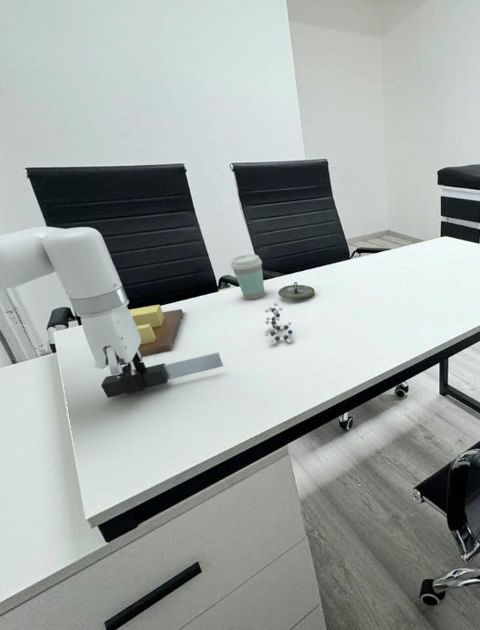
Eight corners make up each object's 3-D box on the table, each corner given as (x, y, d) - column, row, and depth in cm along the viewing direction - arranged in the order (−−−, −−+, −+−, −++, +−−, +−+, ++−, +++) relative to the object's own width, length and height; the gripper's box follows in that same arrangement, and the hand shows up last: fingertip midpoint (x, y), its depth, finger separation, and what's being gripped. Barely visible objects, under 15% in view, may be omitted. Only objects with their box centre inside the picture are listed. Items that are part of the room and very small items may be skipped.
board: (99, 364, 86) (97, 359, 85) (125, 324, 104) (123, 319, 103) (171, 350, 90) (169, 344, 90) (183, 313, 109) (181, 308, 108)
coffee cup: (265, 288, 123) (257, 252, 118) (272, 296, 117) (263, 258, 112) (237, 295, 119) (227, 257, 114) (242, 304, 113) (232, 265, 108)
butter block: (129, 331, 96) (123, 317, 95) (134, 323, 101) (128, 309, 99) (161, 325, 99) (155, 311, 97) (164, 318, 103) (159, 304, 101)
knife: (107, 398, 72) (100, 384, 71) (112, 389, 75) (105, 375, 74) (222, 369, 79) (218, 356, 77) (223, 362, 81) (218, 349, 80)
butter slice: (119, 348, 89) (112, 333, 87) (121, 344, 90) (115, 329, 89) (154, 341, 91) (148, 327, 89) (156, 338, 93) (150, 323, 91)
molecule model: (267, 356, 90) (275, 331, 86) (255, 322, 97) (261, 297, 93) (294, 354, 94) (302, 329, 90) (280, 321, 101) (287, 297, 97)
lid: (278, 299, 119) (271, 286, 116) (306, 284, 122) (300, 270, 119) (291, 311, 111) (283, 298, 108) (320, 295, 115) (314, 281, 112)
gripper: (90, 288, 73) (126, 369, 81) (54, 324, 59) (103, 417, 67) (136, 281, 75) (167, 361, 83) (112, 314, 62) (152, 405, 70)
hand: (138, 385), depth 75 cm, fingers closed on knife, 3 cm apart
